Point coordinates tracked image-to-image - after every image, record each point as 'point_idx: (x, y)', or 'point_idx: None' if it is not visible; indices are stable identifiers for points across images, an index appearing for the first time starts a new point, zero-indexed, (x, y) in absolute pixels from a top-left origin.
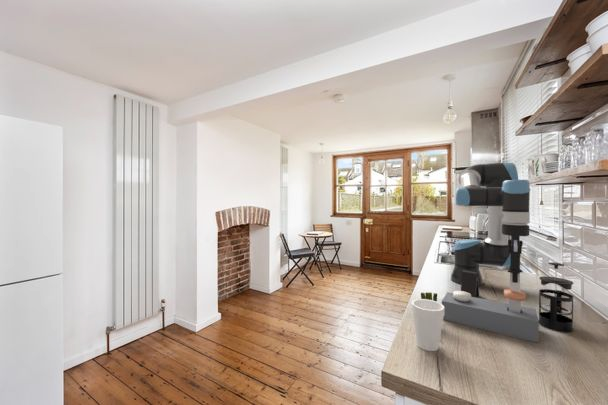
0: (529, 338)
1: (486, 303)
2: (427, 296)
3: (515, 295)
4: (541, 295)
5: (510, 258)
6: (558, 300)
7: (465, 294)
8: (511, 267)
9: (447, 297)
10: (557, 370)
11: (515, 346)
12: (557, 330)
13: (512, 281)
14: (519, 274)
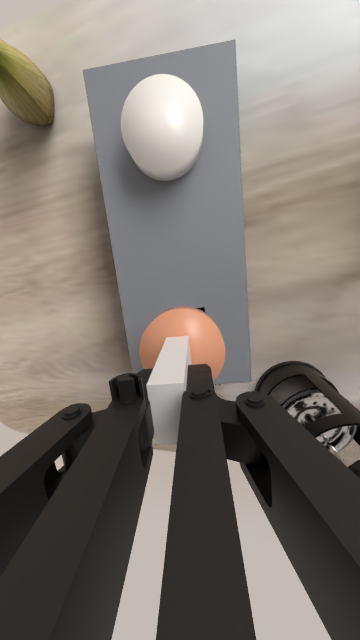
0: None
1: (191, 239)
2: None
3: (141, 357)
4: (319, 421)
5: (297, 483)
6: None
7: (156, 144)
8: (26, 443)
9: (149, 74)
10: (50, 388)
11: (91, 325)
12: None
13: (139, 372)
14: (154, 437)
